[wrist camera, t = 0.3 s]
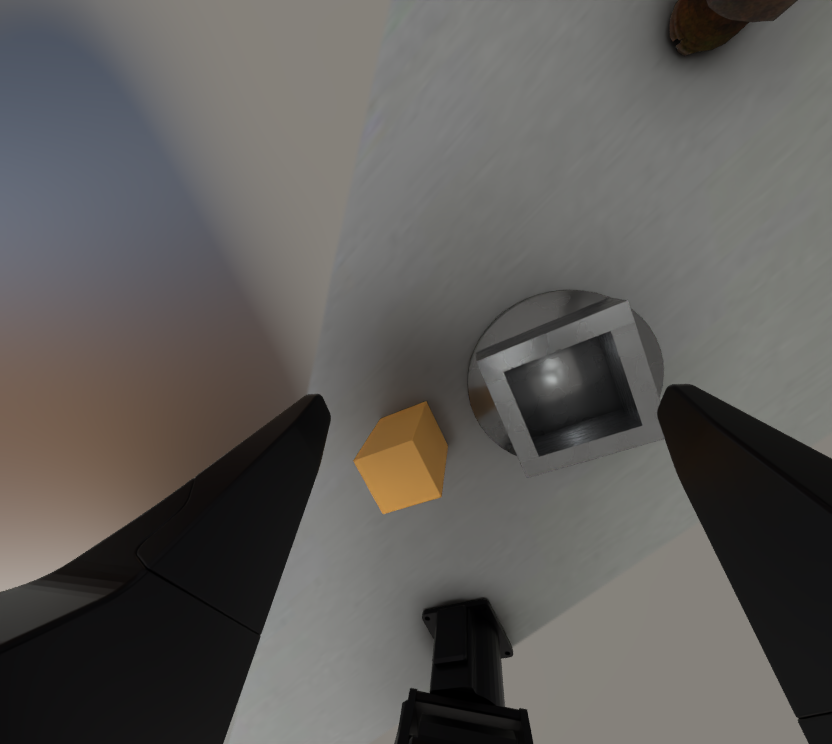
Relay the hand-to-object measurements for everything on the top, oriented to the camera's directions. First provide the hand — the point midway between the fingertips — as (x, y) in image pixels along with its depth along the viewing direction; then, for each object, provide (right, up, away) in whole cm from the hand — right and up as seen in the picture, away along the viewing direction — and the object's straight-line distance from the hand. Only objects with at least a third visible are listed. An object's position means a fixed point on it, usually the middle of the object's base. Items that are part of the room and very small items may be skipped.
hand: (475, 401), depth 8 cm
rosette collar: (+8, 0, +13) cm, 15 cm away
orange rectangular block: (-2, -4, +16) cm, 16 cm away
